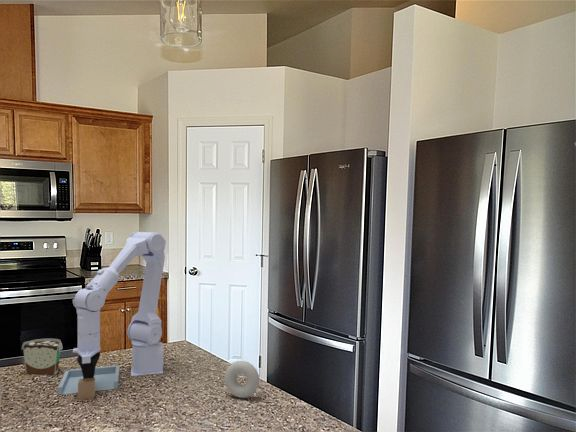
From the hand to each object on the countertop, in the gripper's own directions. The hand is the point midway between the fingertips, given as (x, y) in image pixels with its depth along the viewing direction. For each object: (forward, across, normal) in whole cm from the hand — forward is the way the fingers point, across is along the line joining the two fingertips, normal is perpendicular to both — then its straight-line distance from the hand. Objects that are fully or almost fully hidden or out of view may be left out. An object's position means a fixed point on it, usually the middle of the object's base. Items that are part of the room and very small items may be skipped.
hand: (88, 381), depth 126 cm
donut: (+4, +15, +40) cm, 43 cm away
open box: (+3, -7, 0) cm, 8 cm away
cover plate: (+4, +7, 0) cm, 8 cm away
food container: (+4, -21, -14) cm, 25 cm away
